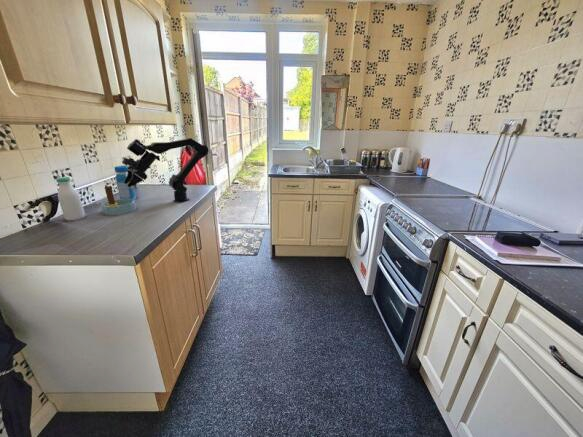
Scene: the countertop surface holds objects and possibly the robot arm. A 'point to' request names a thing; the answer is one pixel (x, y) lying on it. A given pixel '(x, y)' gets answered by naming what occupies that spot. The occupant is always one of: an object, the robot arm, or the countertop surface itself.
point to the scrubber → (110, 196)
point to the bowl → (119, 207)
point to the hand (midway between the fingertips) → (126, 184)
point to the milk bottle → (69, 200)
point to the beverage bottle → (123, 189)
